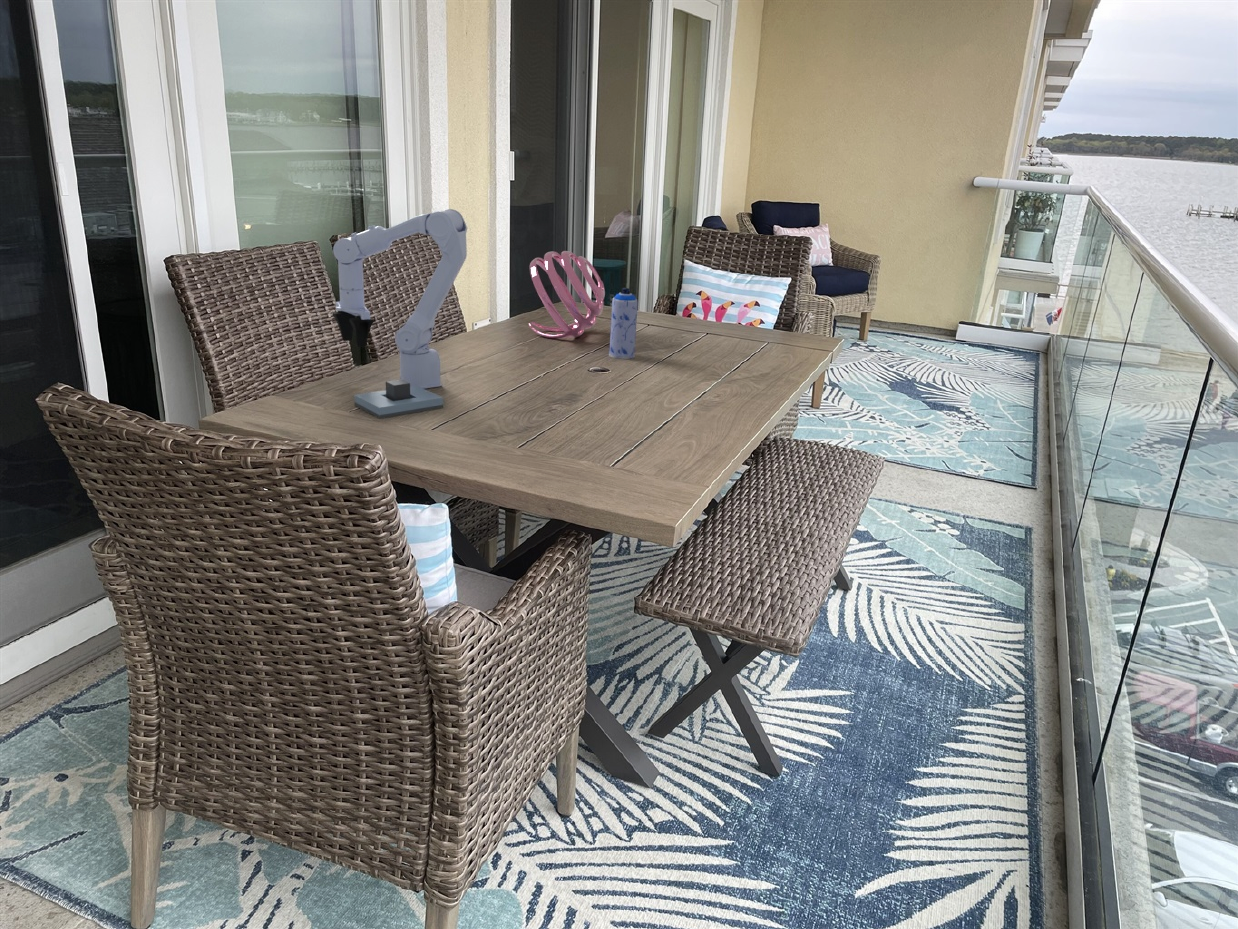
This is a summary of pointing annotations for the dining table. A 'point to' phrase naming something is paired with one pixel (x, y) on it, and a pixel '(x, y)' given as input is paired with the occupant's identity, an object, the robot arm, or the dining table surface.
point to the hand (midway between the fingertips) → (354, 343)
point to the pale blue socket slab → (398, 403)
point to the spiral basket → (568, 294)
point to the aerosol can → (623, 325)
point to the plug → (397, 390)
